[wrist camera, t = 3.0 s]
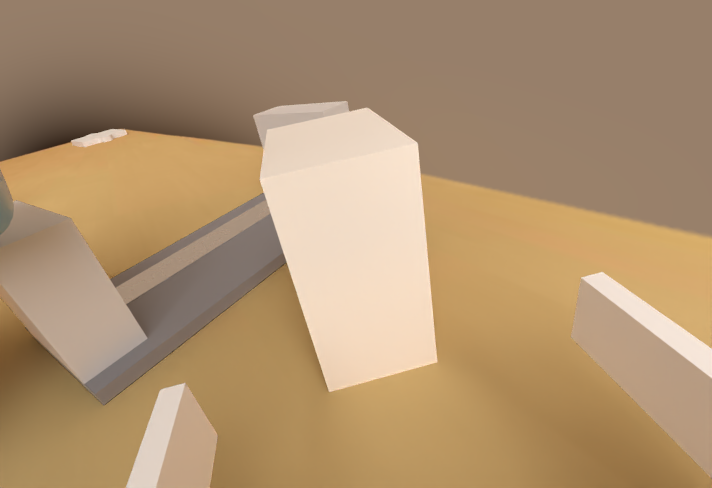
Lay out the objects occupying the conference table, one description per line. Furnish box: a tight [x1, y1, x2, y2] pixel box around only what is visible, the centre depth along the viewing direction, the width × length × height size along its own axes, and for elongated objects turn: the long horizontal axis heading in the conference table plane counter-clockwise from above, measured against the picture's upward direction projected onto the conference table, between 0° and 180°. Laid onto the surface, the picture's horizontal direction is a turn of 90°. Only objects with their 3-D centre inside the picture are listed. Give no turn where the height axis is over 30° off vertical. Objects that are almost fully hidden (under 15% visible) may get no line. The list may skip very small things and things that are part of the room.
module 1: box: [0, 200, 148, 384], centre depth 23 cm, size 4×10×9 cm, turn 56°
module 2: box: [253, 101, 349, 149], centre depth 41 cm, size 4×10×9 cm, turn 56°
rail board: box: [25, 193, 286, 405], centre depth 34 cm, size 30×13×1 cm, turn 146°
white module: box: [260, 108, 437, 392], centre depth 20 cm, size 6×9×12 cm, turn 11°
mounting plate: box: [71, 129, 127, 147], centre depth 119 cm, size 18×13×2 cm
